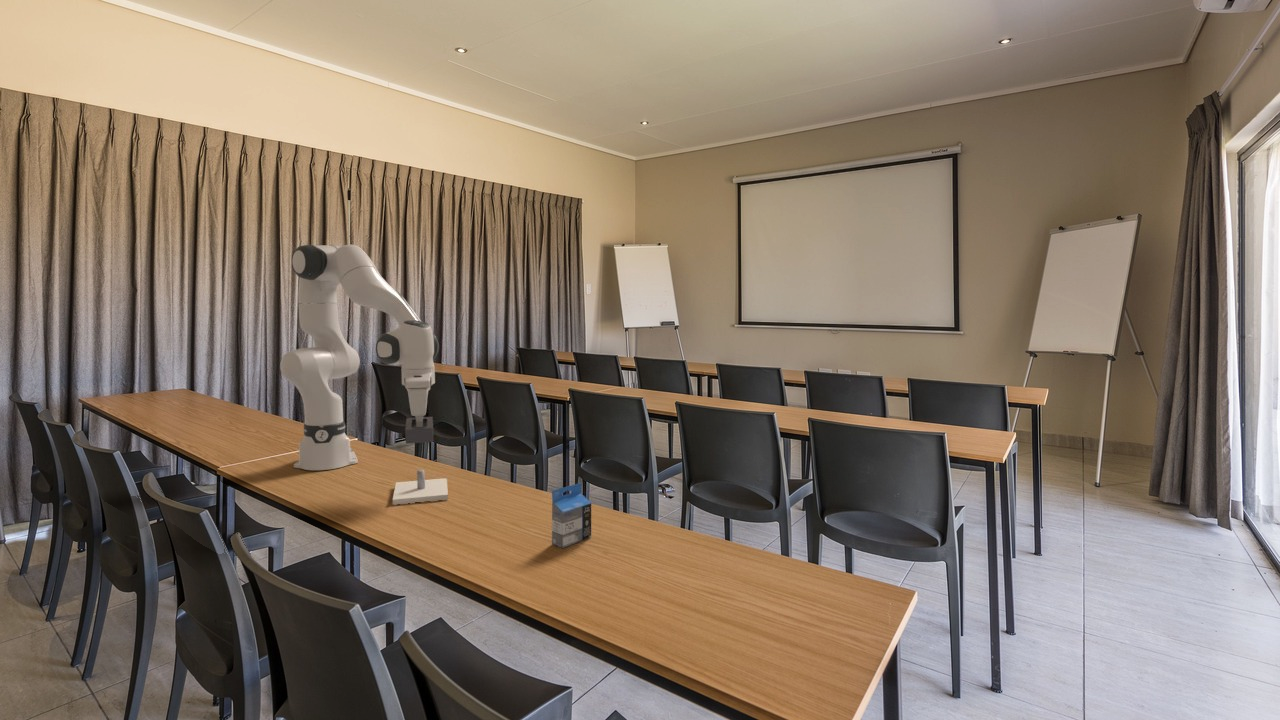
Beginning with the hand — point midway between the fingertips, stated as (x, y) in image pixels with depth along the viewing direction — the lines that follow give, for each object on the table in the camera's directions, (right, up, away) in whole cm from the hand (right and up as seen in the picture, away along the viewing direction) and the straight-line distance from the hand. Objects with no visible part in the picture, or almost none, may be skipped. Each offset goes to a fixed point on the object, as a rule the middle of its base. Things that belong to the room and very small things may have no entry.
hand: (419, 426), depth 172 cm
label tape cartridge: (+47, -23, -35) cm, 63 cm away
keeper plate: (+1, -19, -2) cm, 19 cm away
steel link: (+1, -3, -3) cm, 4 cm away
